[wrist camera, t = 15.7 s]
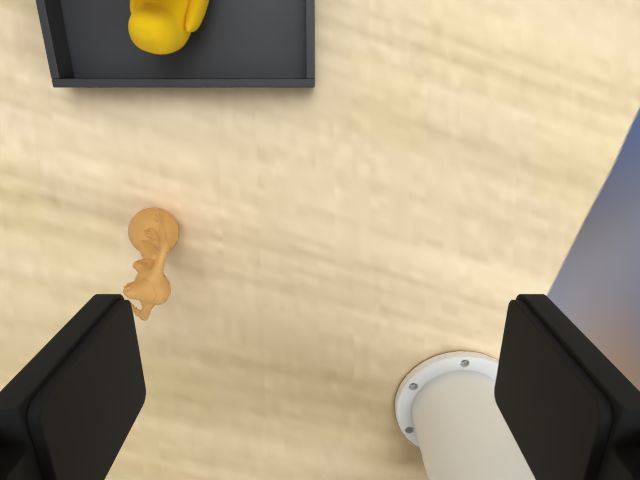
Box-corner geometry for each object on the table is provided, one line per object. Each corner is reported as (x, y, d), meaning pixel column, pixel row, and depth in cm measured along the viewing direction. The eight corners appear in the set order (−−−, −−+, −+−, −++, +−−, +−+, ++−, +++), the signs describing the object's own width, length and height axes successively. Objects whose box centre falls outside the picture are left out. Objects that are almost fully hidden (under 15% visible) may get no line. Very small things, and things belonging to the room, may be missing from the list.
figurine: (150, 172, 38) (81, 217, 27) (219, 197, 39) (179, 251, 28) (128, 256, 41) (57, 328, 30) (193, 278, 42) (147, 356, 31)
